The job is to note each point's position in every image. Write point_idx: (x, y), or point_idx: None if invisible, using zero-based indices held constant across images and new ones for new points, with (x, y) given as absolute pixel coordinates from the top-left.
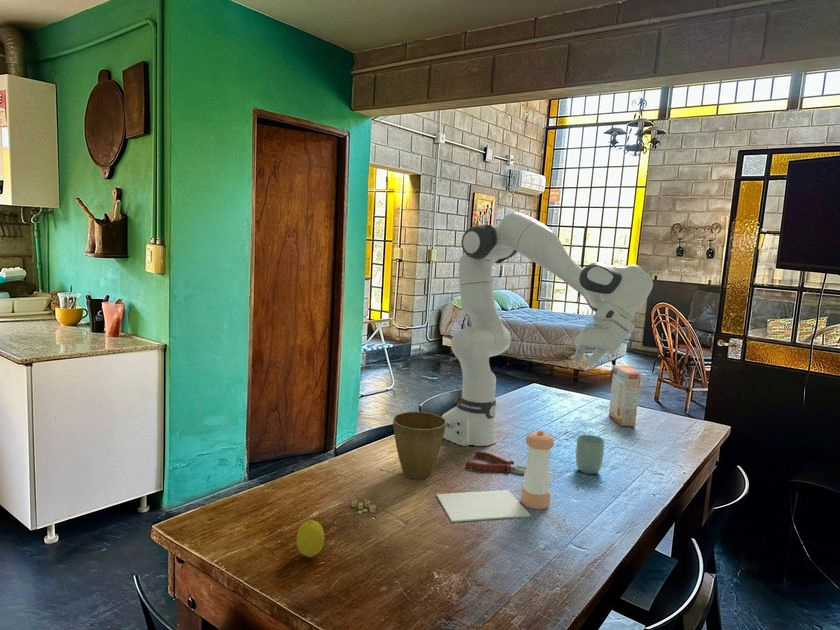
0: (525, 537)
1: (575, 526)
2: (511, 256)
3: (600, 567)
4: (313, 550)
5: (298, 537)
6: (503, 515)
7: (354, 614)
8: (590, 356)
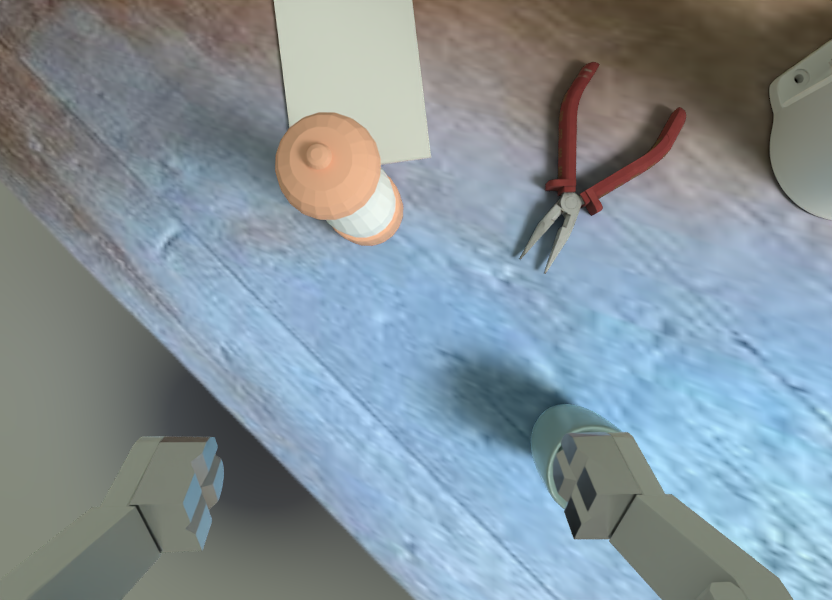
0: (207, 137)
1: (251, 268)
2: None
3: (98, 255)
4: None
5: None
6: (293, 108)
7: None
8: (126, 510)
